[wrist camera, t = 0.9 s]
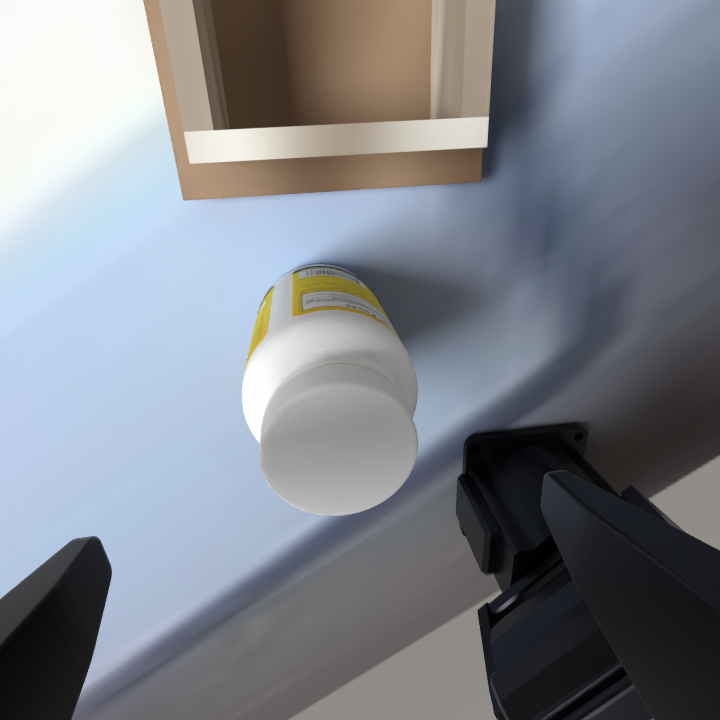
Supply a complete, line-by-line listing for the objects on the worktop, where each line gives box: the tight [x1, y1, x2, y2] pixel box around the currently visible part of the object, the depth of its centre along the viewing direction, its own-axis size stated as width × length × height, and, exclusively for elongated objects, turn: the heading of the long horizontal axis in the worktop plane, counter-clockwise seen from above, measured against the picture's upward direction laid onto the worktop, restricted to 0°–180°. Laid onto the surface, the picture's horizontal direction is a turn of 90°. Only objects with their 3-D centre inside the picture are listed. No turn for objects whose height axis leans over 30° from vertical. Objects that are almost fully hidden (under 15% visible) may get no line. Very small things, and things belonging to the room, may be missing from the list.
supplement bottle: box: [242, 264, 418, 516], centre depth 16 cm, size 5×5×10 cm
